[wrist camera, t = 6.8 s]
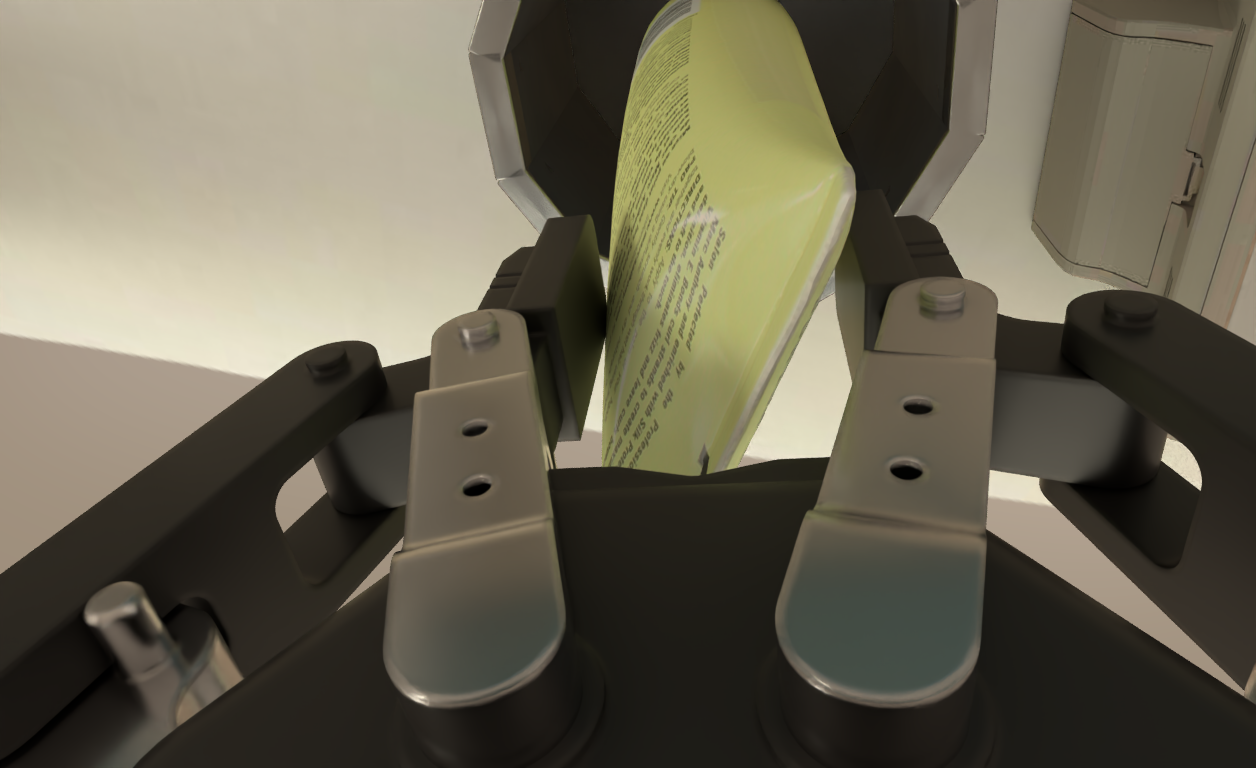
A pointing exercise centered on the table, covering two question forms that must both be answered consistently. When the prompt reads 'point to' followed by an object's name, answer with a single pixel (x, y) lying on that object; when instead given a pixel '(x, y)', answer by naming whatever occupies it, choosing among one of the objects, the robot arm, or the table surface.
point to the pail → (873, 145)
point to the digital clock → (1157, 154)
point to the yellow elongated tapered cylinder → (715, 233)
